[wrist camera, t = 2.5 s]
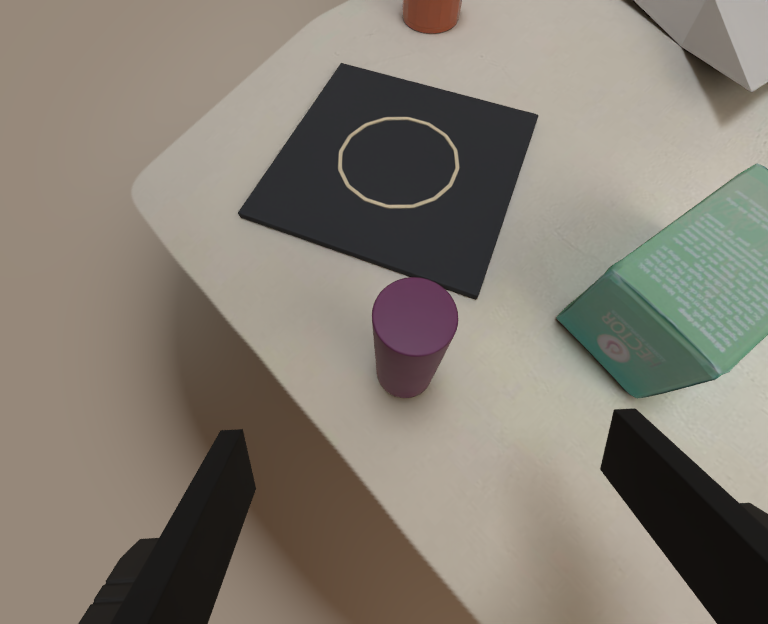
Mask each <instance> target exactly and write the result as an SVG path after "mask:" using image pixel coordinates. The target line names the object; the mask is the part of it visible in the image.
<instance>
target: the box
mask: <svg viewBox="0 0 768 624" xmlns="http://www.w3.org/2000/svg"><path fill="white" fill-rule="evenodd" d="M556 318H557V319H558V321H559V322H560V323H561V324H562V325H563V326H564V327H565V328H566V329H567V330H568V331H569V332H570V333H571V334H572V335H573V336H574V337H575V338H576V339H577V340H578V341H579V342H580V343H581V344H582V345H583V346H584V347H585V348H586V349H587V350H588V351H589V352H590V353H591V354H592V355H593V356H594V357H595V358H596V359H597V360H598V361H599V363H600V364H601V365H602V366H603V367H604V368H605V369H606V370H607V371H608V372H609V373H610V374H611V375H612V376H613V377H614V378H615V379H616V381H617V382H618V383H619V384H620V385H621V386H622V387H623V388H624V389H625V390H626V391H627V392H628V393H629V394H630V395H632V396H633V397H635V398H643V397H649V396H653V395H658V394H663V393H667V392H670V391H674V390H678V389H682V388H686V387H690V386H693V385H697V384H701V383H704V382H708V381H712V380H715V379H717V378H718V377H720V376H721V375H723V374H725V373H728V372H730V370H731V369H732V368H733V367H734V366H735V365H736V364H737V363H738V362H739V361H740V360H741V359H742V358H743V357H745V356H746V355H747V354H748V353H749V352H750V351H751V350H752V349H753V348H754V347H755V346H756V345H757V344H758V343H759V342H760V341H762V340H763V339H764V338H765V337H766V336H767V335H768V169H767V168H766V167H764V166H762V165H760V164H755V165H753V166H752V167H750V168H748V169H746V170H745V171H743V172H741V173H740V174H738V175H737V176H735V177H734V178H733V179H731V180H730V181H729V182H727V183H726V184H724V185H723V186H722V187H720V188H719V189H718V190H716V191H715V192H713V193H712V194H711V195H709V196H708V197H707V198H705V199H704V200H702V201H701V202H700V203H698V204H697V205H696V206H694V207H693V208H692V209H690V210H689V211H688V212H686V213H685V214H683V215H682V216H681V217H679V218H678V219H677V220H675V221H674V222H673V223H671V224H670V225H668V226H667V227H666V228H664V229H663V230H662V231H660V232H659V233H658V234H656V235H655V236H653V237H652V238H651V239H649V240H648V241H647V242H645V243H644V244H643V245H641V246H640V247H638V248H637V249H636V250H634V251H633V252H632V253H630V254H629V255H628V256H626V257H625V258H623V259H622V260H620V261H619V262H617V263H615V264H614V265H612V266H611V267H610V268H609V269H608V270H607V271H606V273H605V274H604V275H603V276H602V277H600V278H599V279H598V280H597V281H596V282H595V283H594V284H593V285H591V286H590V287H589V288H588V289H587V290H586V291H584V292H583V293H582V294H581V295H580V296H579V297H577V298H576V299H575V300H574V301H573V302H571V303H570V304H569V305H568V306H567V307H566V308H565V309H564V310H563V311H562V312H561V313H560V314H559V315H558V316H557V317H556Z"/></svg>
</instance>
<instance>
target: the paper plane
mask: <svg viewBox="0 0 768 624" xmlns="http://www.w3.org/2000/svg"><path fill="white" fill-rule="evenodd" d="M634 1H635V2H636V3H637V4H638V5H639V6H640V7H641V8H642V9H643V10H644V11H645V12H646V13H647V14H648V15H649V16H650V17H651V18H652V19H653V20H654V21H655V22H656V23H658V24H659V25H660V26H661V27H662V28H663V29H664V30H665V31H666V32H667V33H668V34H669V35H670V36H671V37H672V38H673V39H674V40H675V41H676V42H677V43H678V44H679V45H680V46H681V47H683V48H684V49H686V50H687V51H689V52H691V53H692V54H694V55H695V56H697V57H698V58H700V59H701V60H703V61H704V62H706V63H707V64H709V65H711V66H712V67H714V68H715V69H717V70H718V71H720V72H721V73H723V74H724V75H726V76H727V77H729V78H730V79H732V80H734V81H735V82H737V83H738V84H740V85H741V86H743V87H744V88H746V89H747V90H749V91H750V92H753V91H755V90H756V89H758V88H759V87H761V86H763V85H764V84H766V83H767V82H768V0H634Z"/></svg>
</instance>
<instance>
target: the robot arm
mask: <svg viewBox="0 0 768 624" xmlns="http://www.w3.org/2000/svg"><path fill="white" fill-rule="evenodd" d="M600 470H601V471H602V472H603V474H604V475H605V476H606V478H607V479H608V480H609V482H610V483H611V484H612V486H613V487H614V488H615V490H616V491H617V492H618V494H619V495H620V496H621V497H622V499H623V500H624V501H625V503H626V504H627V505H628V507H629V508H630V509H631V511H632V512H633V513H634V515H635V516H636V517H637V519H638V520H639V521H640V523H641V524H642V525H643V527H644V528H645V529H646V530H647V532H648V533H649V534H650V536H651V537H652V538H653V540H654V541H655V542H656V544H657V545H658V546H659V548H660V549H661V550H662V552H663V553H664V554H665V556H666V557H667V558H668V559H669V561H670V562H671V563H672V565H673V566H674V567H675V569H676V570H677V571H678V573H679V574H680V575H681V577H682V578H683V579H684V581H685V582H686V583H687V585H688V586H689V587H690V589H691V590H692V591H693V592H694V594H695V595H696V596H697V598H698V599H699V600H700V602H701V603H702V604H703V606H704V607H705V608H706V610H707V611H708V612H709V614H710V615H711V616H712V618H713V619H714V620H715V621H716V623H717V624H768V514H767V513H765V512H764V511H762V510H760V509H759V508H757V507H756V506H754V505H752V504H751V503H738V502H737V501H736V500H735V499H734V498H733V497H732V496H731V495H730V494H729V493H727V492H726V491H725V490H724V489H723V488H722V487H721V486H720V485H719V484H718V483H716V482H715V481H714V480H713V479H712V478H711V477H710V476H709V475H708V474H707V473H706V472H704V471H703V470H702V469H701V468H700V467H699V466H698V465H697V464H696V463H695V462H693V461H692V460H691V459H690V458H689V457H688V456H687V455H686V454H685V453H684V452H683V451H681V450H680V449H679V448H678V447H677V446H676V445H675V444H674V443H673V442H672V441H670V440H669V439H668V438H667V437H666V436H665V435H664V434H663V433H662V432H661V431H660V430H658V429H657V428H656V427H655V426H654V425H653V424H652V423H651V422H650V421H649V420H647V419H646V418H645V417H644V416H643V415H642V414H641V413H640V412H639V411H638V410H636V409H616V410H614V412H613V416H612V421H611V425H610V429H609V434H608V438H607V442H606V447H605V451H604V455H603V460H602V464H601V468H600ZM255 490H256V487H255V482H254V478H253V473H252V469H251V464H250V460H249V456H248V451H247V446H246V442H245V438H244V433H243V429H240V430H222V431H220V433H219V434H218V436H217V438H216V440H215V441H214V443H213V445H212V447H211V448H210V450H209V452H208V454H207V455H206V457H205V459H204V461H203V462H202V464H201V466H200V468H199V469H198V471H197V473H196V475H195V476H194V478H193V480H192V482H191V483H190V485H189V487H188V489H187V490H186V492H185V494H184V496H183V498H182V499H181V501H180V503H179V504H178V506H177V508H176V510H175V512H174V513H173V515H172V517H171V518H170V520H169V522H168V524H167V525H166V527H165V529H164V531H163V532H162V534H161V536H160V538H151V539H150V538H149V539H140V540H139V541H138V542H137V543H136V544H135V545H133V546H132V547H131V548H130V549H129V550H128V551H127V552H126V554H124V555H123V556H122V557H121V558H120V560H119V561H118V563H117V564H116V566H115V567H114V569H113V571H112V572H111V574H110V575H109V577H108V578H107V580H106V584H105V585H103V586H102V588H101V589H100V591H99V592H98V594H97V596H96V597H95V599H94V603H93V604H92V605H90V606H89V608H88V610H87V611H86V613H85V614H84V616H83V617H82V619H81V620H80V622H79V624H208V621H209V618H210V615H211V613H212V610H213V607H214V604H215V601H216V599H217V596H218V593H219V590H220V588H221V585H222V582H223V579H224V576H225V574H226V571H227V568H228V565H229V562H230V559H231V557H232V554H233V551H234V548H235V545H236V543H237V540H238V537H239V534H240V532H241V529H242V526H243V523H244V520H245V518H246V515H247V512H248V509H249V506H250V504H251V501H252V498H253V495H254V493H255Z"/></svg>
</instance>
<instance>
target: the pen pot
mask: <svg viewBox="0 0 768 624" xmlns="http://www.w3.org/2000/svg"><path fill="white" fill-rule="evenodd" d="M461 3H462V0H403V20H404V22H405V23H406V24H407V25H408V26H409V27H410V28H412V29H414V30H416V31H419V32H423V33H441V32H444V31H447V30H449V29H451V28H453V27H454V26H455V25H456V23H457V22H458V18H459V14H460V9H461Z"/></svg>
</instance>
